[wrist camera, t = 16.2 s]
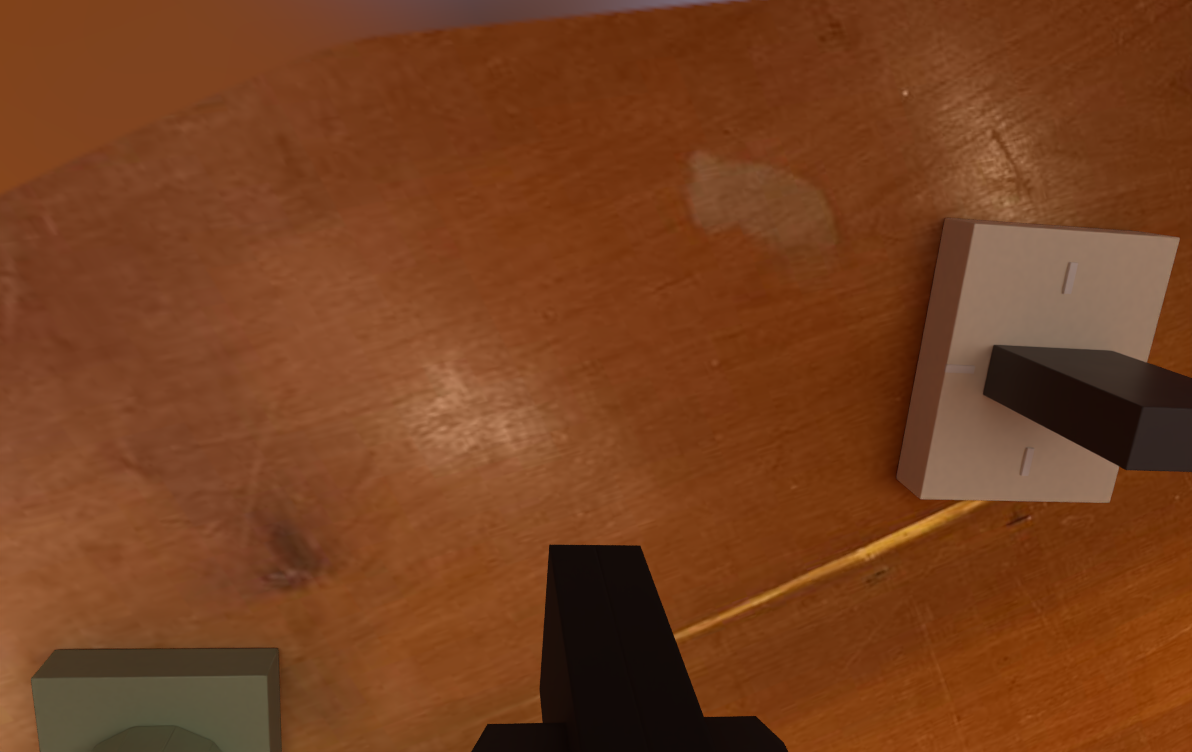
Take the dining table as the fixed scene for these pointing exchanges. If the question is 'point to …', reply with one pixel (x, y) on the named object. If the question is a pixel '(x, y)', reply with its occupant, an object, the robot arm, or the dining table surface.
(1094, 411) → the dark grey rectangular block
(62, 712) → the housing
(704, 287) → the dining table surface
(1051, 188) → the dining table surface
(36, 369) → the dining table surface
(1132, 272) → the panel
